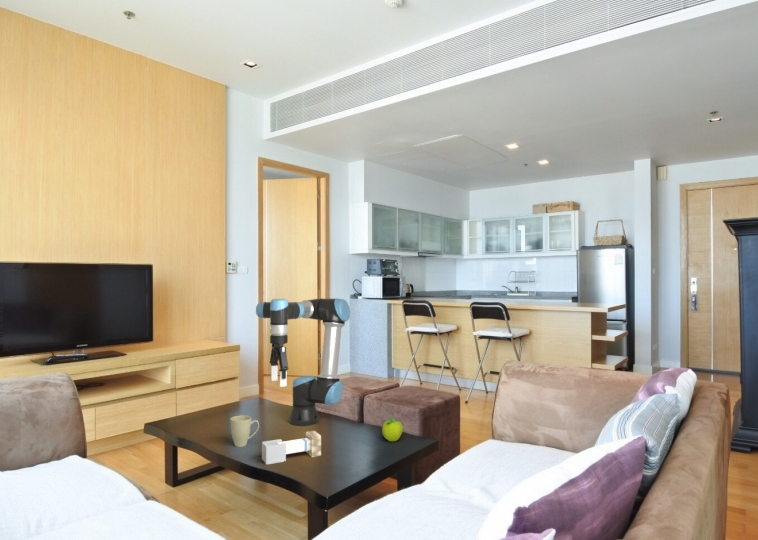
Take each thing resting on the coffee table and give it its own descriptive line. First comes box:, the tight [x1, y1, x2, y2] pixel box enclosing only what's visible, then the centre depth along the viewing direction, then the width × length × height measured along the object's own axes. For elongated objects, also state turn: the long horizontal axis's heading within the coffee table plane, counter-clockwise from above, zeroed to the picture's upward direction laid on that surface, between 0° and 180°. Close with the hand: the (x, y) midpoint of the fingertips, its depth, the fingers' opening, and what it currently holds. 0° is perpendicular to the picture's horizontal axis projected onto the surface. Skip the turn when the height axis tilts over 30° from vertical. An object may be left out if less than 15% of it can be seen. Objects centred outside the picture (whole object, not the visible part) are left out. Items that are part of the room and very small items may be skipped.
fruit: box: [381, 417, 404, 442], centre depth 224 cm, size 9×9×10 cm
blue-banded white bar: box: [277, 437, 311, 455], centre depth 203 cm, size 15×4×4 cm, turn 118°
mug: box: [229, 414, 260, 448], centre depth 218 cm, size 11×10×12 cm
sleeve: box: [261, 438, 287, 465], centre depth 199 cm, size 8×7×7 cm
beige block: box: [305, 430, 322, 458], centre depth 207 cm, size 4×8×8 cm, turn 28°
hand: (278, 383), depth 212 cm, fingers open, 13 cm apart
